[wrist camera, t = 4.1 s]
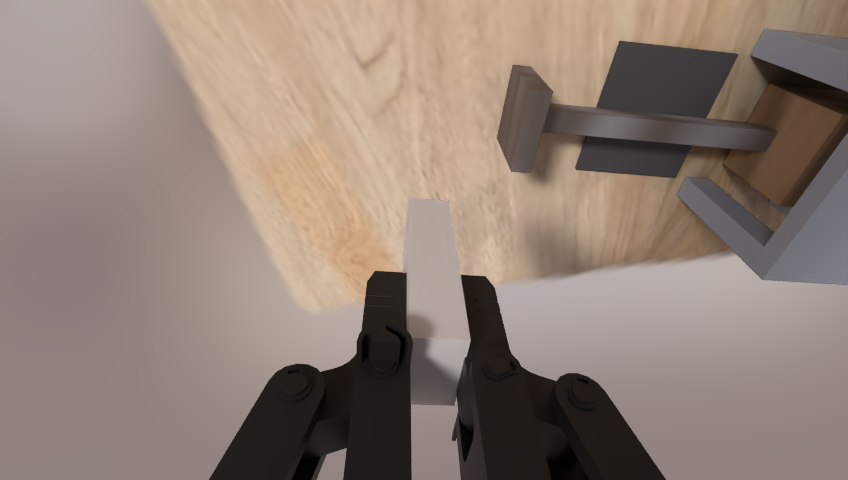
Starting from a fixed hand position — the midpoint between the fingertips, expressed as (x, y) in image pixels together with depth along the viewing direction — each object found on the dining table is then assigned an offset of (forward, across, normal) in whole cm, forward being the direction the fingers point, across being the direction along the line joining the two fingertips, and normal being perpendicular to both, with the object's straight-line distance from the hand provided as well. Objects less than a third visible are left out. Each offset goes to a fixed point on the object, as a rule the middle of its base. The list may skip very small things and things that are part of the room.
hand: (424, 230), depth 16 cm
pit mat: (+16, +16, 0) cm, 23 cm away
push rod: (+15, +18, 0) cm, 23 cm away
